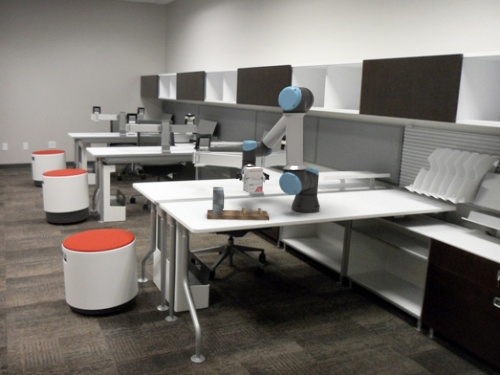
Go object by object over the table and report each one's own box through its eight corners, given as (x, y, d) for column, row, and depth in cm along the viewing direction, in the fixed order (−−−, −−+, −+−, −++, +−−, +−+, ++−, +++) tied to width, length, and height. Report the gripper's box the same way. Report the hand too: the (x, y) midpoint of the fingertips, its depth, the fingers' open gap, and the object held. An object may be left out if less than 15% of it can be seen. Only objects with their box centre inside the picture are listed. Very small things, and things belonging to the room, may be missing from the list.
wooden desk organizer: (266, 214, 242) (267, 187, 240) (269, 220, 232) (270, 191, 229) (207, 213, 240) (208, 186, 237) (207, 218, 229) (207, 190, 226)
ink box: (257, 189, 238) (259, 166, 236) (262, 191, 234) (263, 167, 232) (242, 190, 234) (243, 166, 232) (247, 192, 230) (248, 168, 228)
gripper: (270, 179, 252) (276, 187, 230) (228, 178, 250) (230, 186, 228) (271, 165, 251) (277, 172, 229) (229, 164, 249) (231, 171, 227)
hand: (254, 179), depth 229 cm, fingers closed on ink box, 9 cm apart
